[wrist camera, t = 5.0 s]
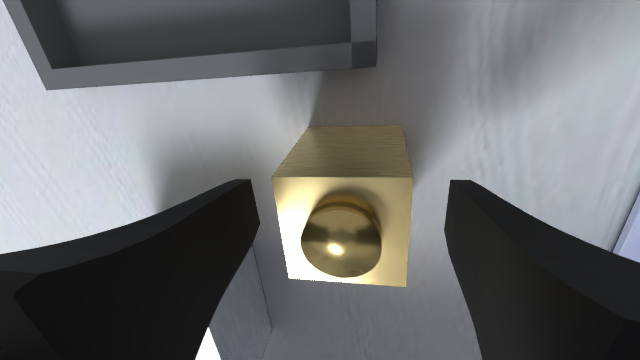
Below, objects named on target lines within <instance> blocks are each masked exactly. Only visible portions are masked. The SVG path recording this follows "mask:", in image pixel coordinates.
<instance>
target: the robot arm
mask: <svg viewBox="0 0 640 360" xmlns="http://www.w3.org/2000/svg"><path fill="white" fill-rule="evenodd" d="M259 225H260V221H259V216H258V212H257V207H256V202H255V198H254V193H253V188H252V184H251V179H235V180H232V181H229V182H227V183H224V184H222V185H220V186H217V187H215V188H213V189H211V190H209V191H207V192H204V193H202V194H200V195H198V196H196V197H194V198H192V199H190V200H188V201H185V202H183V203H181V204H178V205H176V206H174V207H172V208H169V209H167V210H165V211H163V212H160V213H158V214H155V215H153V216H150V217H147V218H145V219H142V220H139V221H136V222H134V223H131V224H128V225H125V226H121V227H118V228H115V229H111V230H108V231H104V232H101V233H98V234H94V235H91V236H87V237H83V238H79V239H75V240H71V241H67V242H62V243H58V244H53V245H49V246H44V247H39V248H34V249H28V250H22V251H17V252H11V253H5V254H0V360H195V359H196V356H197V354H198V351H199V349H200V346H201V344H202V341H203V339H204V336H205V334H206V331H207V329H208V327H209V325H210V322H211V320H212V318H213V316H214V313H215V311H216V309H217V306H218V304H219V302H220V300H221V298H222V297H223V295H224V293H225V291H226V289H227V288H228V286H229V284H230V282H231V281H232V279H233V277H234V275H235V274H236V272H237V270H238V269H239V267H240V265H241V263H242V262H243V260H244V258H245V256H246V255H247V253H248V251H249V249H250V247H251V245H252V243H253V241H254V238H255V236H256V233H257V230H258V228H259ZM444 231H445V237H446V242H447V247H448V251H449V256H450V258H451V261H452V264H453V267H454V270H455V273H456V276H457V278H458V281H459V284H460V287H461V289H462V292H463V295H464V298H465V300H466V303H467V306H468V309H469V311H470V314H471V317H472V321H473V324H474V327H475V331H476V335H477V339H478V343H479V347H480V351H481V355H482V359H483V360H640V193H639V195H638V197H637V199H636V202H635V204H634V206H633V208H632V210H631V213H630V215H629V217H628V219H627V221H626V224H625V226H624V228H623V230H622V233H621V235H620V237H619V239H618V241H617V244H616V246H615V248H614V250H613V252H609V251H607V250H604V249H602V248H599V247H597V246H594V245H592V244H590V243H587V242H585V241H583V240H580V239H578V238H576V237H574V236H572V235H569V234H567V233H565V232H563V231H560V230H558V229H556V228H554V227H552V226H550V225H548V224H546V223H544V222H542V221H541V220H539V219H537V218H535V217H533V216H531V215H529V214H527V213H526V212H524V211H522V210H520V209H519V208H517V207H515V206H514V205H512V204H510V203H508V202H507V201H505V200H503V199H502V198H500V197H499V196H497V195H495V194H494V193H492V192H491V191H489V190H487V189H486V188H484V187H482V186H481V185H479V184H477V183H475V182H473V181H471V180H450V187H449V195H448V204H447V212H446V220H445V228H444Z"/></svg>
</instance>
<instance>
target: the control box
mask: <svg viewBox="0 0 640 360" xmlns="http://www.w3.org/2000/svg"><path fill="white" fill-rule="evenodd" d="M271 331H272V327H271V322H270V318H269V314H268V310H267V306H266V301H265V297H264V293H263V289H262V284H261V280H260V276H259V272H258V268H257V263H256V259H255V255H254V251H253V247H252V245H251V247H250V249H249V251H248V253H247V255H246V256H245V258H244V260H243V262H242V263H241V265H240V267H239V269H238V270H237V272H236V274H235V275H234V277H233V279H232V281H231V282H230V284H229V286H228V288H227V289H226V291H225V293H224V295H223V297H222V298H221V300H220V302H219V304H218V306H217V309H216V311H215V313H214V316H213V318H212V320H211V322H210V325H209V327H208V329H207V331H206V334H205V336H204V339H203V341H202V344H201V346H200V349H199V351H198V354H197V356H196V359H195V360H261V359H262V356H263V353H264V351H265V348H266V345H267V342H268V340H269V337H270V334H271Z"/></svg>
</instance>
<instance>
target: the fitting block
mask: <svg viewBox="0 0 640 360" xmlns="http://www.w3.org/2000/svg"><path fill="white" fill-rule="evenodd" d="M271 178H272V184H273V189H274V195H275V201H276V206H277V212H278V218H279V224H280V229H281V235H282V241H283V246H284V252H285V258H286V264H287V269H288V275H289V278H295V279H308V280H321V281H334V282H347V283H360V284H373V285H386V286H399V287H406V280H407V264H408V248H409V233H410V217H411V201H412V186H413V175H412V171H411V166H410V162H409V157H408V152H407V148H406V143H405V138H404V134H403V129H402V125H372V126H337V127H308V128H307V129H306V131H305V132H304V133H303V135H302V136H301V137H300V139H299V140H298V142H297V143H296V144H295V146H294V147H293V148H292V150H291V151H290V152H289V154H288V155H287V156H286V158H285V159H284V160H283V162H282V163H281V165H280V166H279V167H278V169H277V170H276V171H275V173H274V174H273V175H272V177H271Z"/></svg>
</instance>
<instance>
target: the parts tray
mask: <svg viewBox="0 0 640 360" xmlns="http://www.w3.org/2000/svg"><path fill="white" fill-rule="evenodd" d="M3 2H4V4H5V6H6V8H7V10H8V12H9V14H10V16H11V18H12V20H13V22H14V24H15V26H16V29H17V31H18V33H19V35H20V37H21V39H22V41H23V43H24V45H25V47H26V49H27V51H28V53H29V55H30V57H31V59H32V62H33V64H34V66H35V68H36V70H37V72H38V74H39V76H40V78H41V80H42V82H43V84H44V86H45V88H46V90H57V89H71V88H85V87H99V86H113V85H127V84H141V83H155V82H169V81H183V80H197V79H211V78H225V77H239V76H253V75H267V74H281V73H295V72H309V71H323V70H337V69H351V68H364V67H376V64H377V0H3Z"/></svg>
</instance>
